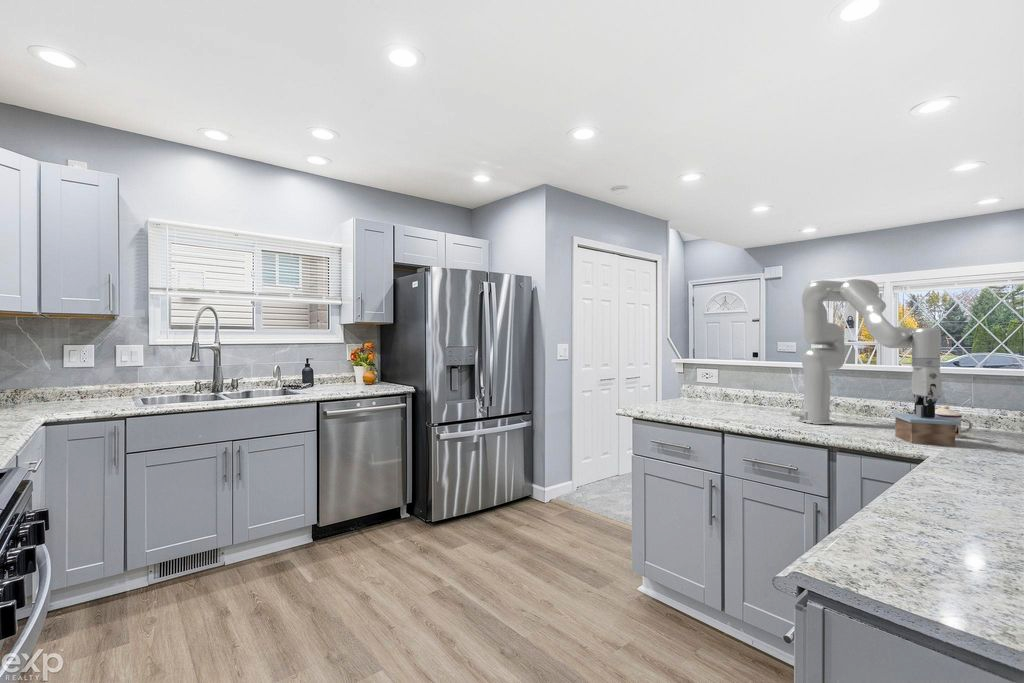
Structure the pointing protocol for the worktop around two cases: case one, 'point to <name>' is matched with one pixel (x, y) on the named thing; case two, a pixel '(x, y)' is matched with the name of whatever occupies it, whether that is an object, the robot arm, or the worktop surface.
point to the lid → (924, 418)
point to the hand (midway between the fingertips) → (924, 415)
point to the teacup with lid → (955, 416)
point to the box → (925, 433)
